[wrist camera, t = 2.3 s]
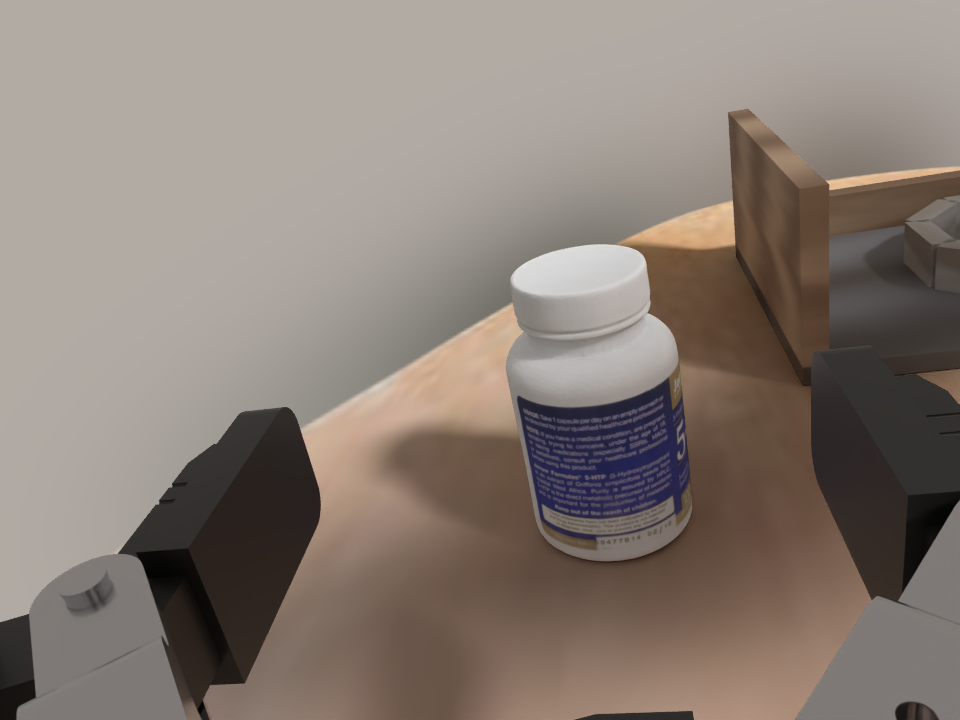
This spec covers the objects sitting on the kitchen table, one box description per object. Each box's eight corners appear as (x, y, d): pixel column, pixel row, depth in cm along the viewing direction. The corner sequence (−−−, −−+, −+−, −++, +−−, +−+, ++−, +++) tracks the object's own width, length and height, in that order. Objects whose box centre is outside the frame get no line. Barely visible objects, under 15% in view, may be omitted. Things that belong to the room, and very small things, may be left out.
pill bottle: (724, 535, 25) (704, 270, 21) (567, 587, 24) (517, 323, 20) (650, 452, 30) (623, 224, 26) (517, 494, 29) (469, 265, 25)
